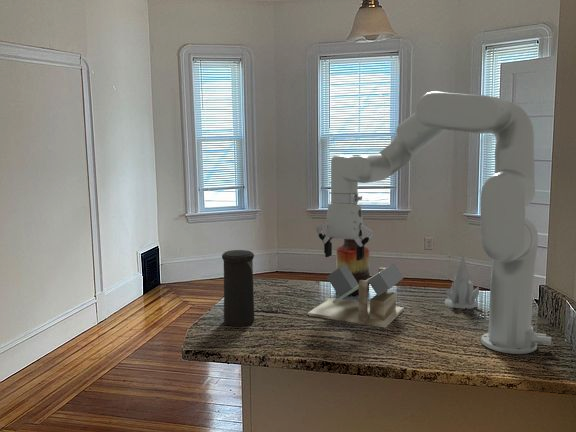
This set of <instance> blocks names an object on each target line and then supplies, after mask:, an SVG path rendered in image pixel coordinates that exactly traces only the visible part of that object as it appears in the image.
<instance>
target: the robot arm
mask: <svg viewBox="0 0 576 432" xmlns="http://www.w3.org/2000/svg"><path fill="white" fill-rule="evenodd" d="M414 110H415V112H413V114H411V115H410V116H408V117H407V118H406V119H405V120H403V121H402V122H400V123H399V124H398V125H397V126H396V137H395V138H394V140H393V141H391V143H389V145H387V146H386V147H385V148H383V149H382V150H380V151H379V152H378V153H375V154H362V155H356V156H355V155H349V154H348V155H347V154H346V155H344V154H342V155H340V154H339V155H338V154H337V155H334V156H333V157H331V161H330V202H329V204H328V205H327V212H326V219H325V221H326V222H325V223H323V224H320V225H318V226H317V227H316V228H315V230H316V233H317V234H318V238H319V239H320V240H321V241H322V243H323V247H324V248H323V253H324V254H325V255H324V256H325V258H329V257H331V256H332V253H333V249H332V248H333V246H332V245H333V243H332V239H342V240H344V239H354V240H355V241H356V243H357V244H358V247H357V260H361V259H362V258H363V257H364V246H366V244H368V242H369V241H371V238H372V237H373V234H374V230H372V229H371V228H369V227H367V226H366V225H364V222H363V221H364V220H363V219H364V218H363V212H362V211H363V210H362V205H361V203H358V202H359V201H362V200H363V196H362V195H359V190H358V187H359V186H358V183H360V184H367V183H373V182H379V181H383V180H386V179H389V177H391V176H393V175H394V174H395V173H397V172H398V171H399V170H401V169H403V167H405V166H406V165H407V164H408V163H409V162H411V160H412V159H413V158H414V157H415V156H416V155H417V153H418V152H419V151H421V150H422V149H423V148H424V147H426V146H428V145H429V144H430V143H431V142H433V141H434V140H436V139H437V138H438V137H441V135H442V134H443V133H445V132H446V131H454V132H464V133H472V134H479V135H480V134H482V135H483V134H492V135H494V136H495V141H496V142H495V149H494V174H492V175H490V176H489V177H488V178H487V179H486V180H485V182H484V183H483V185H482V188H481V191H480V210H479V211H480V243H481V247H482V249H483V252H484V254H485V255H487V257H488V258H489V259H490V260H491V261H492V262H491V268H490V271H491V272H490V284H489V285H490V287H489V289H490V290H489V306H488V307H489V309H488V329H487V330H488V332H486V333H484V334H483V335H481V338H480V339H481V341H480V342H481V344H482V345H483V346H484V347H485V348H488V349H490V350H491V351H492V350H493V351H496V352H499V353H504V354H511V355H523V354H525V355H526V354H529V353H530V354H531V353H533V352H535V351H537V349H538V344H542V345H544V346H545V345H546V346H552V336H547V334H546V333H539V332H536V331H534V326H532V315H533V314H532V313H533V297H534V296H533V293H534V283H535V269H536V259H537V252H538V246H539V245H538V244H539V234H538V230H537V228H536V227H537V226H536V225H535V224H534V222H532V221H531V219H528V217H526V207H527V206H529V205H530V204H531V203H532V202H533V199H534V197H535V193H536V192H535V190H536V188H535V187H536V186H535V185H536V183H535V132H534V126H533V123H532V120H531V118H530V116H529V115H528V113H527V112H526V111H525V110H524V109H523V108H522V107H521V106H520V105H518V104H516V103H515V102H513V101H510V100H508V99H505V98H502V97H498V96H497V97H496V96H490V95H482V94H469V93H456V92H455V93H454V92H447V91H437V90H433V91H429V92H426V93H425V94H423V95H422V96H420V98H419V99H418V101H417V102H416V104H415V109H414ZM324 229H325V233H324ZM364 233H365V235H366V236H364V238H363V235H364ZM361 236H362V237H361Z"/></svg>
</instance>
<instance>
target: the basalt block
mask: <svg viewBox="0 0 576 432" xmlns="http://www.w3.org/2000/svg"><path fill="white" fill-rule="evenodd" d="M326 278H327V280H328V281H329V283H330V285H331V286H332V288H333V289H334V291H335V293H336V294H337V296H338V298H339V297H341V296H342V295H344V294H345V293H347V292H349V291H350V290H352V289H353V288H355V287H357V286H358V285H359V284H358V282H357V281H356V279H355V278H354V276H353V275H352V273H351V271H350V270H349V268H348V267H347V265H344V266H342V267H340V268H339V269H337V270H336V269H335V270H334V271H332V272H331V273H329V274H328V275H326Z"/></svg>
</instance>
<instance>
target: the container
mask: <svg viewBox="0 0 576 432" xmlns="http://www.w3.org/2000/svg"><path fill="white" fill-rule="evenodd" d="M221 257H222V260H223V323H224V325H227V326H231V327H244V326H248V325H252V324H253V323H254V322H255V300H254V299H255V298H254V297H255V296H254V266H253V265H254V264H253V263H254V262H253V260H254V258H255V254H254V253H253V252H252V251H250V250H245V249H232V250H227V251H225V252H223V253H222V255H221Z"/></svg>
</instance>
